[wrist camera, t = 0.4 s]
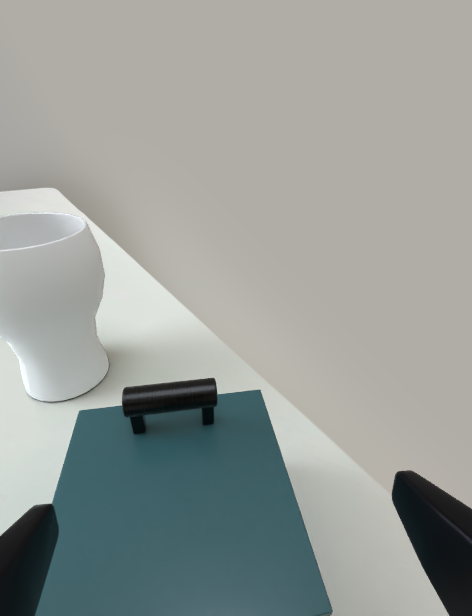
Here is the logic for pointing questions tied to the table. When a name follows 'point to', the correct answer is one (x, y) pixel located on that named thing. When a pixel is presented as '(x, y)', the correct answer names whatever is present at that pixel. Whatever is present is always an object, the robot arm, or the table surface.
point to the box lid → (179, 512)
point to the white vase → (52, 302)
